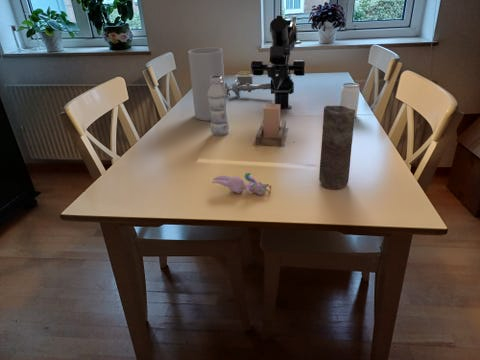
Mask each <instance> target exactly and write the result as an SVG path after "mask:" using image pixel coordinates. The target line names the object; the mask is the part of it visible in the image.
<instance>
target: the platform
mask: <svg viewBox="0 0 480 360" xmlns="http://www.w3.org/2000/svg"><path fill="white" fill-rule="evenodd" d="M250 72H251V71H245V70H244V71H238V73H237V74H234V77H236V80H238V81H239V83H240V85H246V84H247V83H249V84H253V77H254V78H255V75H253V74H252V73H250Z"/></svg>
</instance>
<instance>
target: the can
mask: <svg viewBox="0 0 480 360" xmlns="http://www.w3.org/2000/svg"><path fill="white" fill-rule="evenodd" d="M360 90H361V89H360V84H358V83H354V82H346V83H343V84H342V87H341V92H340V98H339V99H340V100H339V106H344V107H346V108H349V109H354V110H355V118H356V117H357V115H358V114H357V113H358V106H359V100H360V99H359V98H360Z"/></svg>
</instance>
